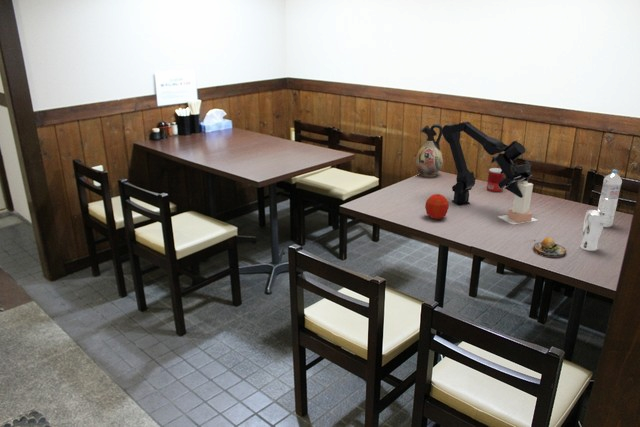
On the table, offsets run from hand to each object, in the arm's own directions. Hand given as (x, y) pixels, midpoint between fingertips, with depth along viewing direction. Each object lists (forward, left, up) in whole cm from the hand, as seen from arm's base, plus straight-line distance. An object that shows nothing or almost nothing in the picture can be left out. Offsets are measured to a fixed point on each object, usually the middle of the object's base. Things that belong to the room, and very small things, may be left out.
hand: (525, 195), depth 223 cm
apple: (-32, +18, -13) cm, 39 cm away
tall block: (0, +1, -8) cm, 8 cm away
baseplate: (0, +2, -12) cm, 13 cm away
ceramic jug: (0, +76, -13) cm, 77 cm away
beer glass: (+7, -31, -13) cm, 34 cm away
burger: (-10, -28, -13) cm, 32 cm away
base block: (0, +1, -11) cm, 11 cm away
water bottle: (+32, -15, -13) cm, 37 cm away
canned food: (+18, +41, -13) cm, 47 cm away
